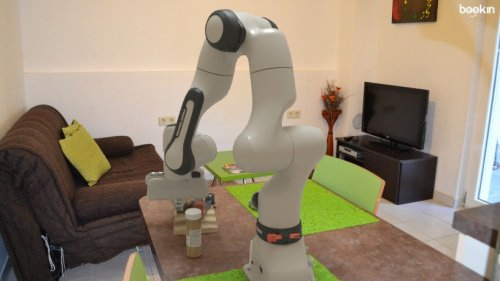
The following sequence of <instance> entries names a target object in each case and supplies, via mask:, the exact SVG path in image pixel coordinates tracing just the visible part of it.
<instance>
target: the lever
mask: <svg viewBox="0 0 500 281" xmlns="http://www.w3.org/2000/svg"><path fill="white" fill-rule="evenodd" d="M215 196H216V195H215V193H213V192H209V195H208V196H207V197H206V198H193V199H192V208H197V209H200V210H201V213H202V217H201V218H202V219H203V218H204V216H205V214H206V212H207V211H208V209H209V208H210V206H211V205H212V204H214V203H215V202H216V200H215V199H216V198H215Z"/></svg>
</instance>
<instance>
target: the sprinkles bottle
mask: <svg viewBox="0 0 500 281" xmlns="http://www.w3.org/2000/svg"><path fill="white" fill-rule="evenodd" d="M201 217H202V213H201V210H200V209H197V208H191V209H188V210H186V211H185V218H186V234H185V239H186V240H185V243H186V253H185V255H186V256H187V257H188V258H198V257H201V255H202V254H203V252H202V239H203V238H202V233H201Z"/></svg>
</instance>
